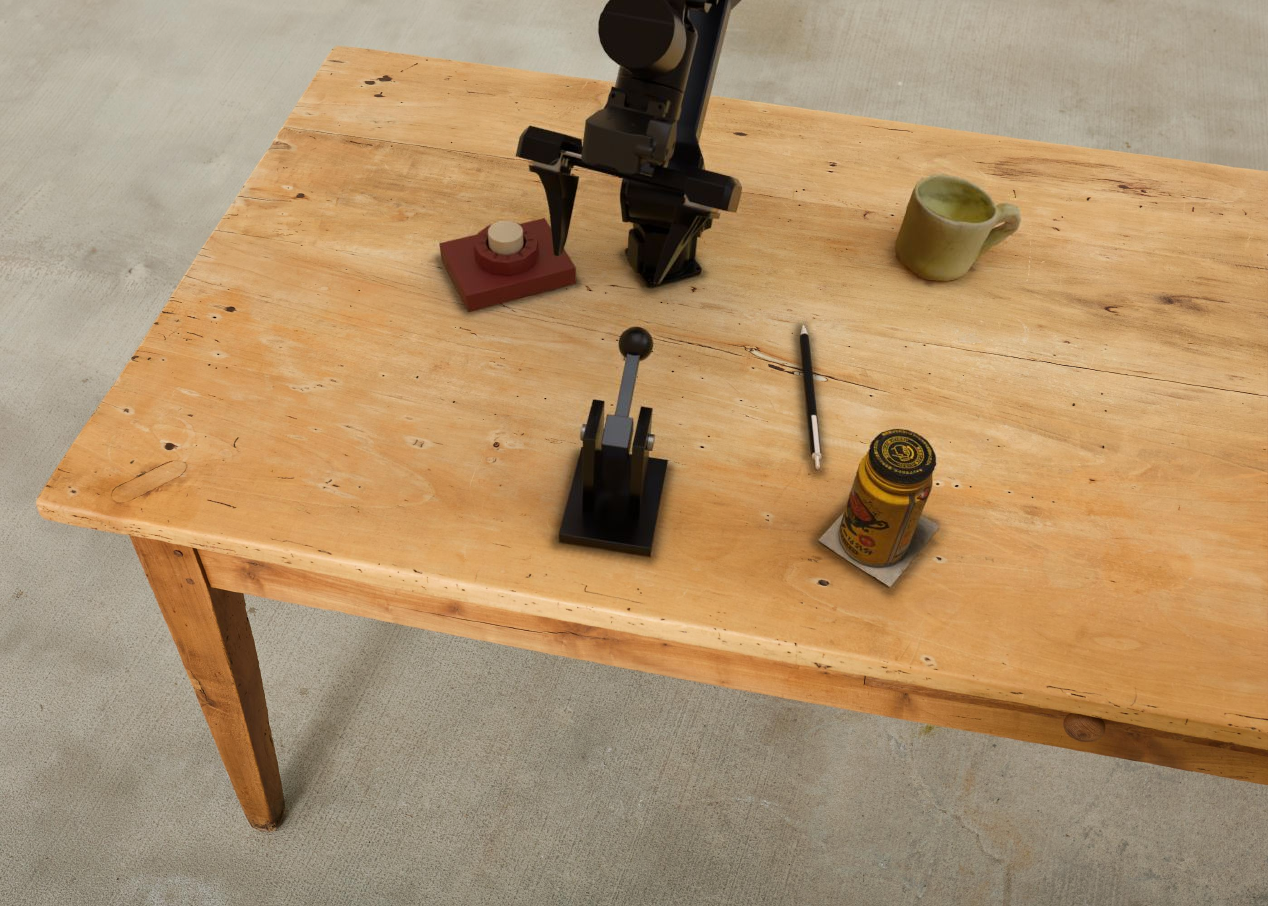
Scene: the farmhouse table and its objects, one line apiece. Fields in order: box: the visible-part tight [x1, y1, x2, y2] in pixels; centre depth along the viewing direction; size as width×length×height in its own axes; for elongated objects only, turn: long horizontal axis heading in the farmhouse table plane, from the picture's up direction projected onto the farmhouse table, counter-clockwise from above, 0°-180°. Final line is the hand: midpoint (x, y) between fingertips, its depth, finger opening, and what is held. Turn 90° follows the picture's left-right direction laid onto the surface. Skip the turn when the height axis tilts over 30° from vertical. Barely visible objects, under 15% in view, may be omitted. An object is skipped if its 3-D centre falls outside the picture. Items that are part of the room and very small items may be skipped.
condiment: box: [817, 428, 941, 588], centre depth 88 cm, size 7×8×12 cm
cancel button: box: [488, 220, 523, 255], centre depth 109 cm, size 4×4×2 cm
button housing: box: [438, 217, 577, 313], centre depth 111 cm, size 12×9×4 cm
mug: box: [894, 173, 1022, 282], centre depth 114 cm, size 12×10×10 cm
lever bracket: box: [558, 398, 669, 557], centre depth 89 cm, size 10×8×11 cm
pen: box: [799, 324, 822, 470], centre depth 103 cm, size 1×19×1 cm, turn 178°
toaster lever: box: [601, 326, 654, 460], centre depth 88 cm, size 12×3×3 cm, turn 171°
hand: (606, 269), depth 91 cm, fingers open, 9 cm apart
